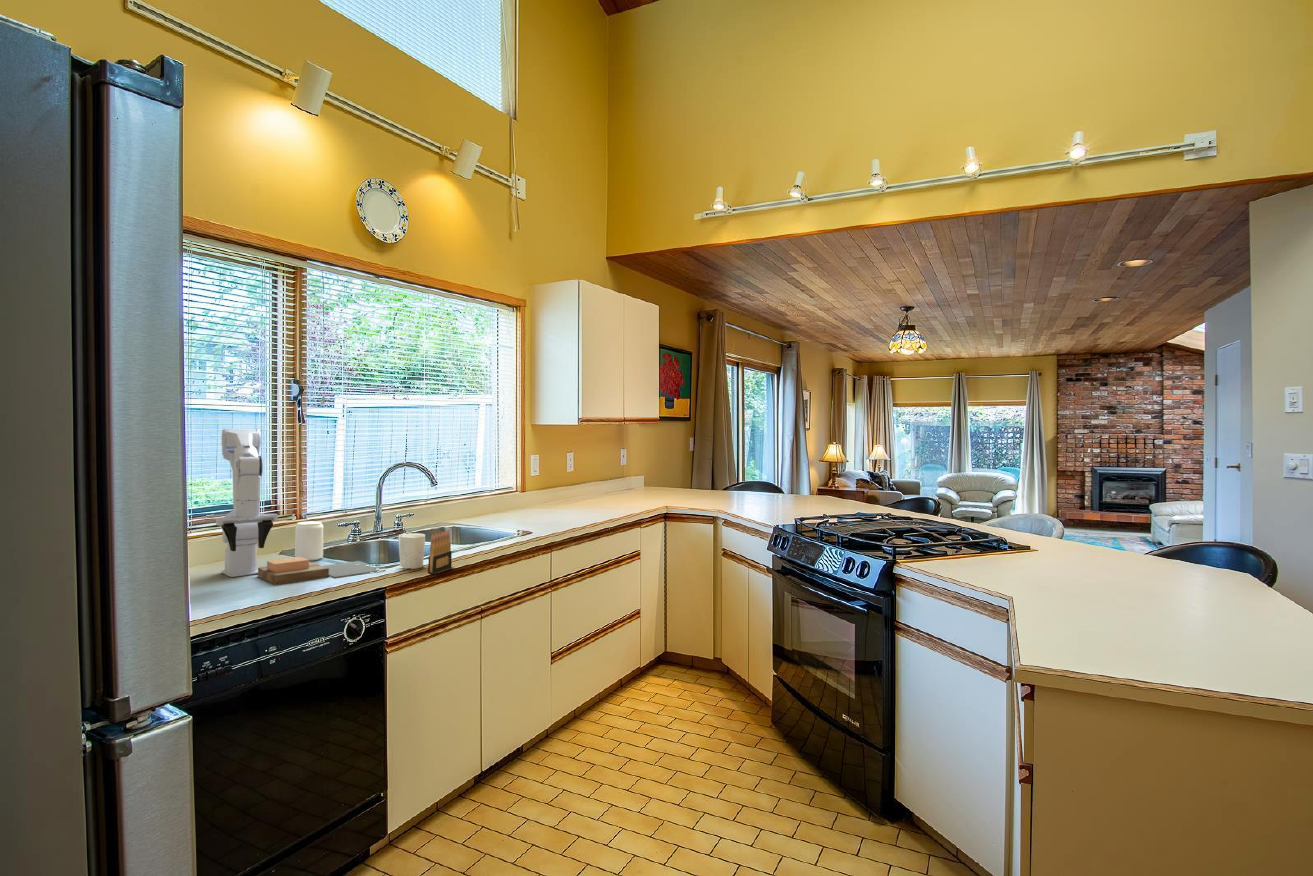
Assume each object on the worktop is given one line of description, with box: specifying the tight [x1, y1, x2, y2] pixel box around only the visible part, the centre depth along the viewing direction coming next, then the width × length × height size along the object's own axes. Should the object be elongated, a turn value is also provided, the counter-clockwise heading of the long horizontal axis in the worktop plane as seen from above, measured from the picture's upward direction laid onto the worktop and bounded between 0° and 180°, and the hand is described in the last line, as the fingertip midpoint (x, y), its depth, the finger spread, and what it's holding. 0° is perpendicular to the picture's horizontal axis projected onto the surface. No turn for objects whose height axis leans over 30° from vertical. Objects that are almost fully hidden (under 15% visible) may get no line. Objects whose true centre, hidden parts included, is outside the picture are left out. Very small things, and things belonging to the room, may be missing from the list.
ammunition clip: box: [427, 529, 453, 575], centre depth 203 cm, size 11×2×12 cm, turn 168°
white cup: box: [398, 532, 426, 570], centre depth 206 cm, size 8×8×10 cm
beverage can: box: [294, 520, 324, 562], centre depth 215 cm, size 8×8×12 cm
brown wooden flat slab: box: [257, 561, 330, 586], centre depth 190 cm, size 14×14×2 cm
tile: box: [266, 557, 309, 573], centre depth 189 cm, size 6×9×2 cm, turn 139°
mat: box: [323, 560, 380, 579], centre depth 200 cm, size 18×15×1 cm
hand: (247, 549), depth 181 cm, fingers open, 6 cm apart
